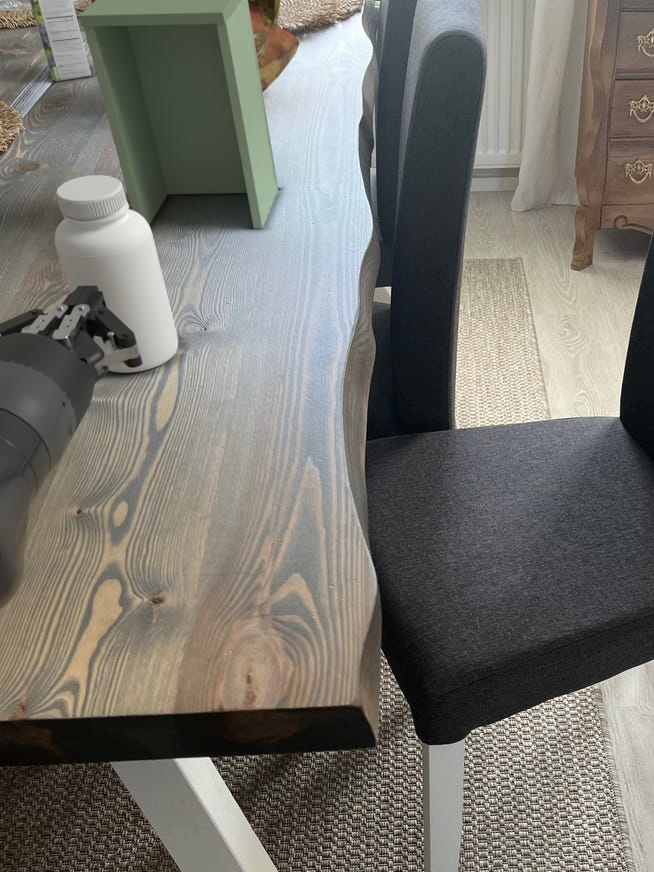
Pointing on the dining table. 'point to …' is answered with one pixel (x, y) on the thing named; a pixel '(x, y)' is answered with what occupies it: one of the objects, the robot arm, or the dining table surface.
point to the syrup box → (61, 38)
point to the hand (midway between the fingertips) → (91, 296)
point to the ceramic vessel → (270, 40)
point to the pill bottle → (116, 263)
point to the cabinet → (183, 99)
